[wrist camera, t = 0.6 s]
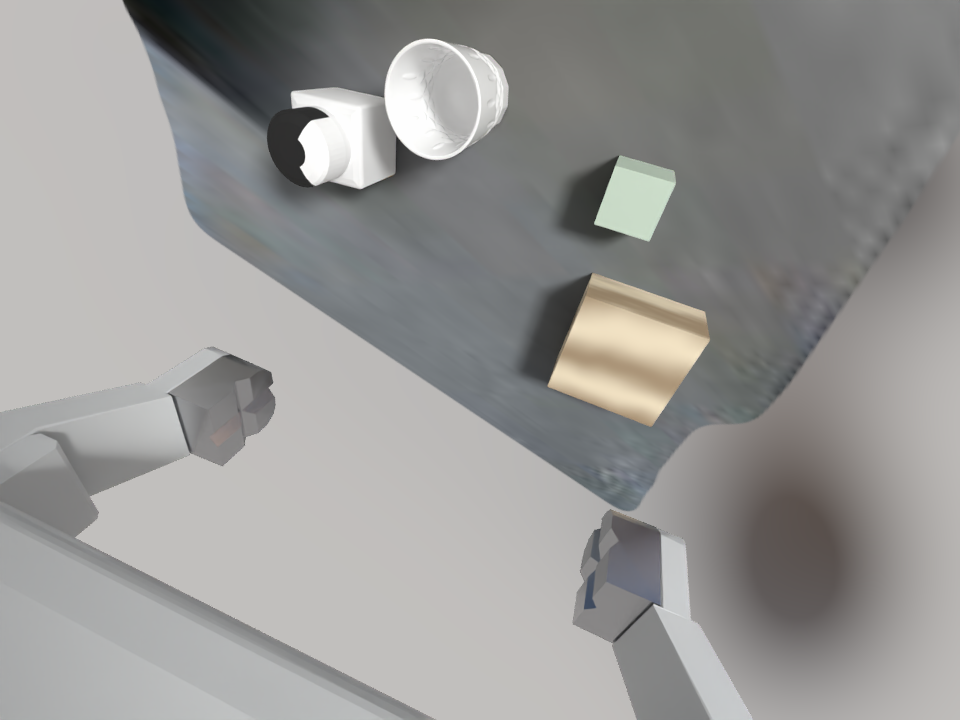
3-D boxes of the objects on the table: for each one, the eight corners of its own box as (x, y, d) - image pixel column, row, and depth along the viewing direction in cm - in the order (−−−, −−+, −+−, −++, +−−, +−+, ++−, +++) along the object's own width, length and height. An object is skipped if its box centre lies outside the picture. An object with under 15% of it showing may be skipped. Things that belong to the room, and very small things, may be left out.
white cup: (512, 144, 42) (479, 164, 34) (436, 138, 44) (389, 155, 36) (518, 43, 38) (481, 39, 30) (433, 41, 40) (378, 38, 32)
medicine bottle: (338, 160, 49) (262, 185, 40) (334, 86, 45) (248, 94, 35) (396, 175, 48) (332, 204, 38) (398, 100, 43) (326, 111, 34)
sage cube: (619, 155, 40) (615, 165, 36) (674, 170, 39) (675, 183, 35) (599, 208, 43) (593, 224, 39) (650, 224, 42) (649, 241, 38)
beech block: (592, 271, 47) (585, 295, 42) (704, 310, 45) (709, 339, 41) (556, 358, 54) (547, 386, 49) (651, 393, 53) (651, 426, 48)
